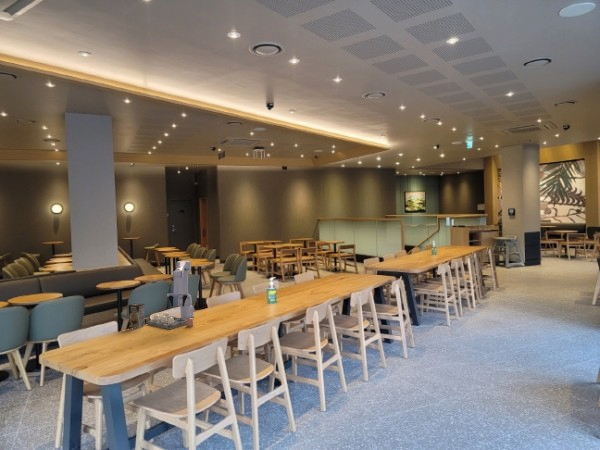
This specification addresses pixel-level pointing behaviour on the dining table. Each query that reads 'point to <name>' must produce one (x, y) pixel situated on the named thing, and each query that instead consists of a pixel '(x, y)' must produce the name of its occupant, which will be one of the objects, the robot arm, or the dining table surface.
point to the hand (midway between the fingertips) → (177, 306)
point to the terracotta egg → (190, 322)
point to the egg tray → (167, 321)
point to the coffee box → (136, 315)
